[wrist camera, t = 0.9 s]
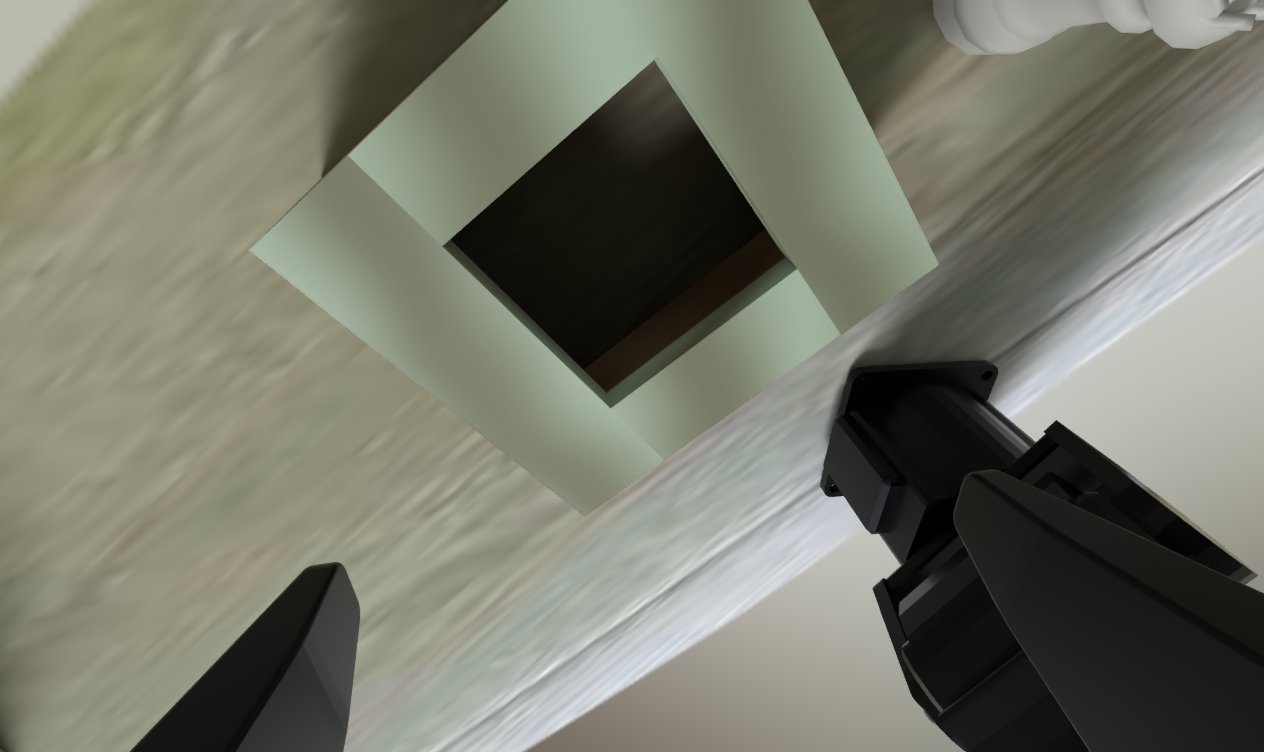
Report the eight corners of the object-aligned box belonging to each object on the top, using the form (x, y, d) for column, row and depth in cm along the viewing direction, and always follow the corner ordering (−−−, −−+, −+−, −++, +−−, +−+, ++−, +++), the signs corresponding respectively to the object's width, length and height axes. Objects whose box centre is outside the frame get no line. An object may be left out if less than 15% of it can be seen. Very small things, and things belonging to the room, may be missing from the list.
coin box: (645, -134, 16) (711, -195, 11) (835, 200, 21) (939, 264, 16) (320, 179, 18) (249, 250, 13) (567, 405, 24) (584, 516, 19)
